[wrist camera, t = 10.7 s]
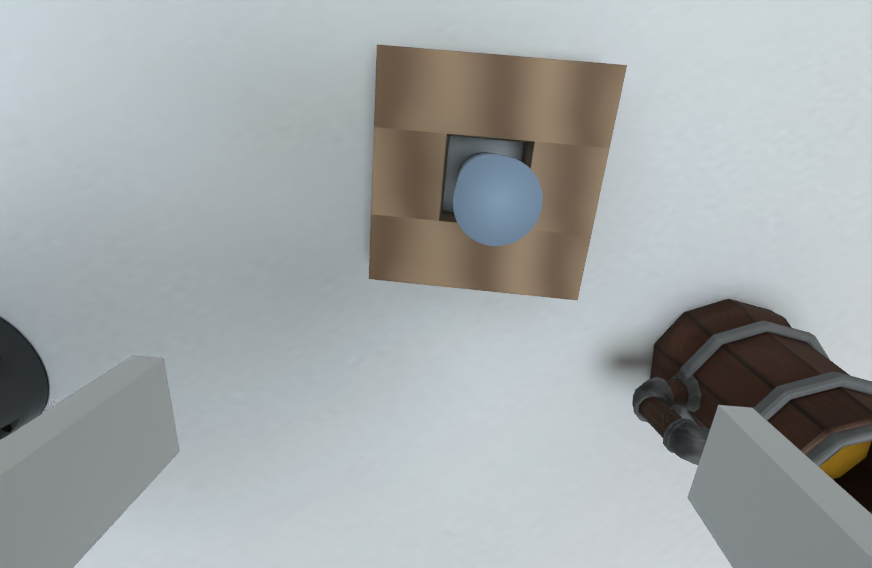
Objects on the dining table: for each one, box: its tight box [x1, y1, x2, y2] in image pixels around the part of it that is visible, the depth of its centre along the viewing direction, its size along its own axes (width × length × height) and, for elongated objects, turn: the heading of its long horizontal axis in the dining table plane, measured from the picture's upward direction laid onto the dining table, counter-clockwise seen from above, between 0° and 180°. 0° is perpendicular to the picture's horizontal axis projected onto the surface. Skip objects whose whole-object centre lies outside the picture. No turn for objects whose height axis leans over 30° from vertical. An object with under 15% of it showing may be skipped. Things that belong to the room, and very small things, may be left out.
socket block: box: [369, 45, 627, 300], centre depth 31 cm, size 16×16×5 cm
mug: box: [633, 299, 872, 514], centre depth 30 cm, size 16×12×15 cm
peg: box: [453, 152, 543, 246], centre depth 26 cm, size 4×4×16 cm
